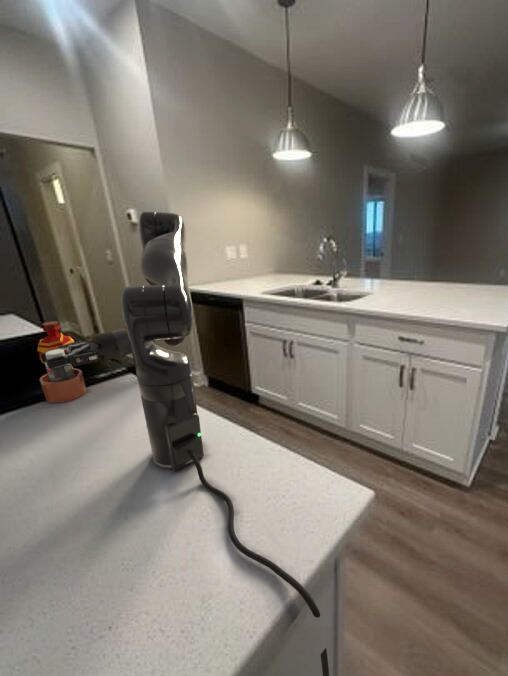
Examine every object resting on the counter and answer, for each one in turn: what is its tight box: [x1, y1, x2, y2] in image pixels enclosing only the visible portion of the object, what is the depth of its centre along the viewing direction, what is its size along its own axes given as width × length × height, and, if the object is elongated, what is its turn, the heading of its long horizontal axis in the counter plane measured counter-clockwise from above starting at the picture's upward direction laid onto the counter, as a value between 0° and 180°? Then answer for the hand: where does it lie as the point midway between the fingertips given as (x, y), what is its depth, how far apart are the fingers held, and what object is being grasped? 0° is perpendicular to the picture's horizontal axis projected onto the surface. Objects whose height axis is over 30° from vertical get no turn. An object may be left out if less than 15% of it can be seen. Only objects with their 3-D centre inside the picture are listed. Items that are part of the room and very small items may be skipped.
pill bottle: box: [44, 349, 75, 382], centre depth 89 cm, size 5×5×10 cm
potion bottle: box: [36, 320, 75, 368], centre depth 104 cm, size 10×10×15 cm
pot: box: [39, 367, 87, 403], centre depth 91 cm, size 9×9×6 cm
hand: (44, 361), depth 86 cm, fingers closed on pill bottle, 5 cm apart
